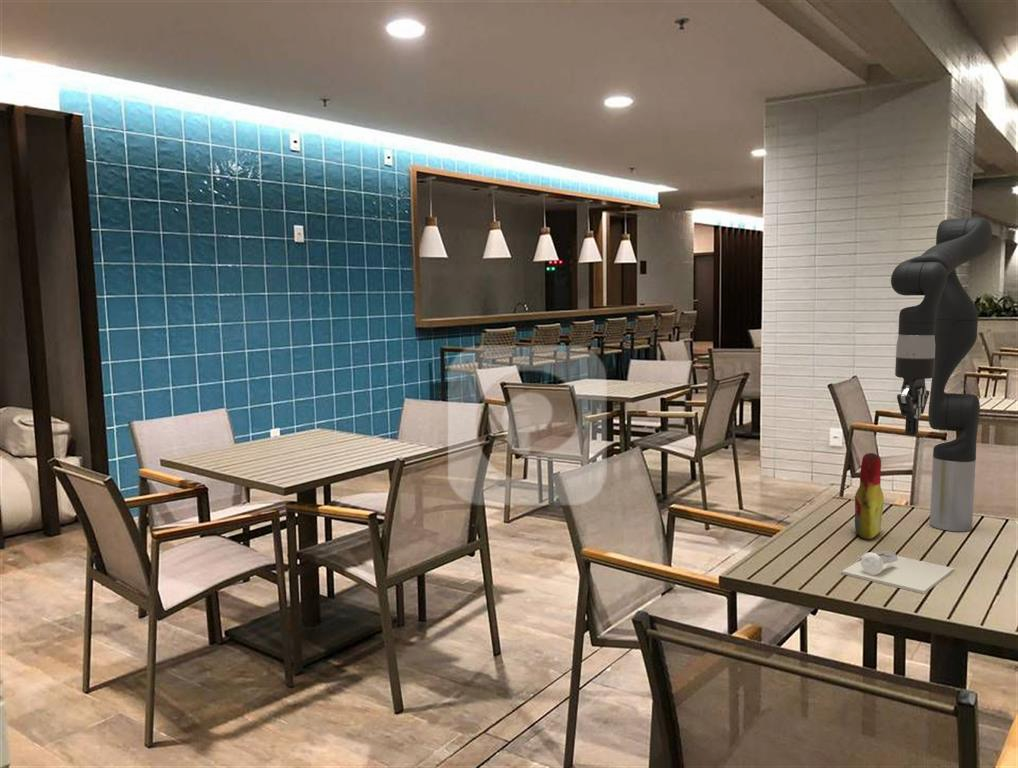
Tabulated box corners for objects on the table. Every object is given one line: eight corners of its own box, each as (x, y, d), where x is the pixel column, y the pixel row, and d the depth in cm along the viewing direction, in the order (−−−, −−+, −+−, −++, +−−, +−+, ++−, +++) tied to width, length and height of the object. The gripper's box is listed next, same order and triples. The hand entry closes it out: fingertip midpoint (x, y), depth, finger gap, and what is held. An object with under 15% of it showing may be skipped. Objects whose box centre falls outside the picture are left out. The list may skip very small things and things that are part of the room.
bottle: (879, 543, 186) (882, 458, 183) (849, 539, 189) (852, 456, 187) (884, 530, 196) (887, 450, 194) (856, 526, 199) (859, 447, 197)
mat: (875, 553, 178) (875, 551, 178) (954, 570, 167) (954, 568, 167) (841, 573, 166) (841, 571, 166) (923, 593, 154) (924, 590, 154)
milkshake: (908, 562, 166) (885, 569, 159) (886, 572, 169) (863, 579, 163) (897, 542, 168) (874, 548, 161) (875, 552, 171) (852, 558, 165)
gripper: (923, 358, 165) (919, 441, 167) (944, 354, 175) (940, 433, 176) (885, 356, 171) (882, 436, 173) (908, 353, 180) (904, 429, 182)
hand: (911, 434), depth 175 cm, fingers closed
